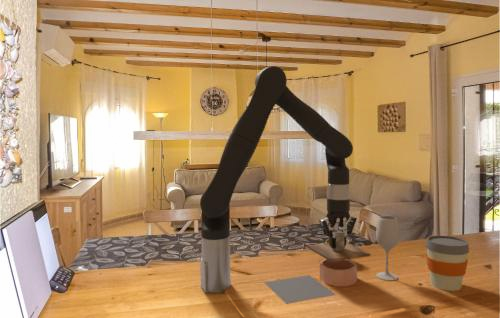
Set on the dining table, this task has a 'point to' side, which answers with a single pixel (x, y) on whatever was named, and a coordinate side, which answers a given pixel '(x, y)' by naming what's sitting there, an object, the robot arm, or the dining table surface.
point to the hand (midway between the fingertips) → (337, 247)
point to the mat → (299, 289)
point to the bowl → (338, 272)
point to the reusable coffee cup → (447, 261)
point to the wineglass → (387, 241)
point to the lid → (338, 249)
